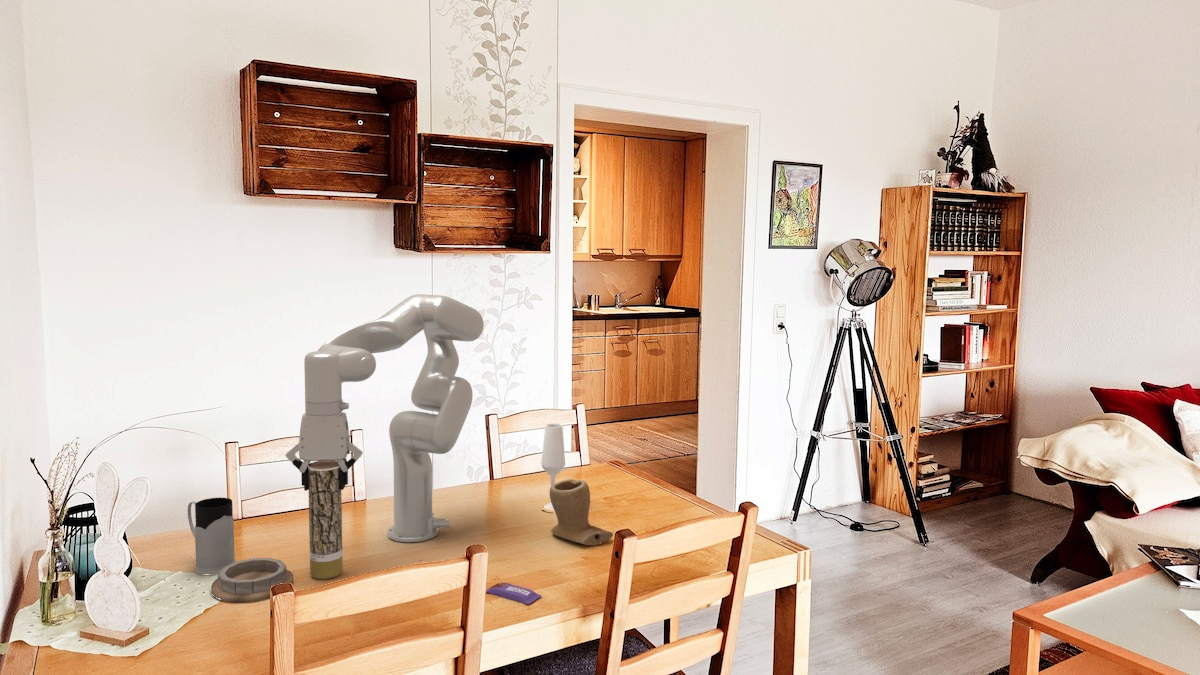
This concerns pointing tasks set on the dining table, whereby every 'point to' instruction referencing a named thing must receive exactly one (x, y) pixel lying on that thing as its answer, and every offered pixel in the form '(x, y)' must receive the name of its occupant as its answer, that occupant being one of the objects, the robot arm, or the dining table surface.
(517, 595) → the snack package
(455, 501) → the dining table surface
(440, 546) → the dining table surface
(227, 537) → the glass holder
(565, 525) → the clay pipe bowl
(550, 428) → the champagne flute
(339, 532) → the paper tube
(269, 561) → the roll stand
